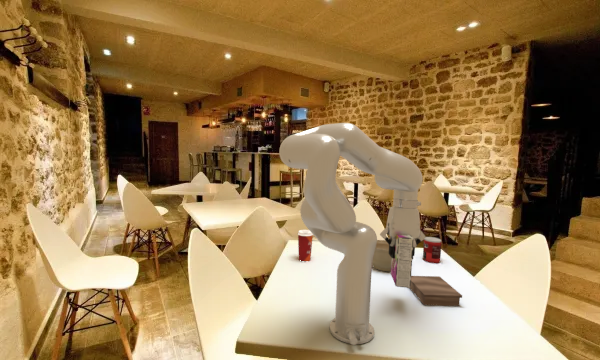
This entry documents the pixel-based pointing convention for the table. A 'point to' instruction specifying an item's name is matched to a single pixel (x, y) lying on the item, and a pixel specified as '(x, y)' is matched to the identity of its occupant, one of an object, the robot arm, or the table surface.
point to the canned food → (432, 250)
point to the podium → (434, 291)
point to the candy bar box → (402, 261)
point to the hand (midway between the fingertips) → (401, 256)
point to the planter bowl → (382, 256)
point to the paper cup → (305, 244)
